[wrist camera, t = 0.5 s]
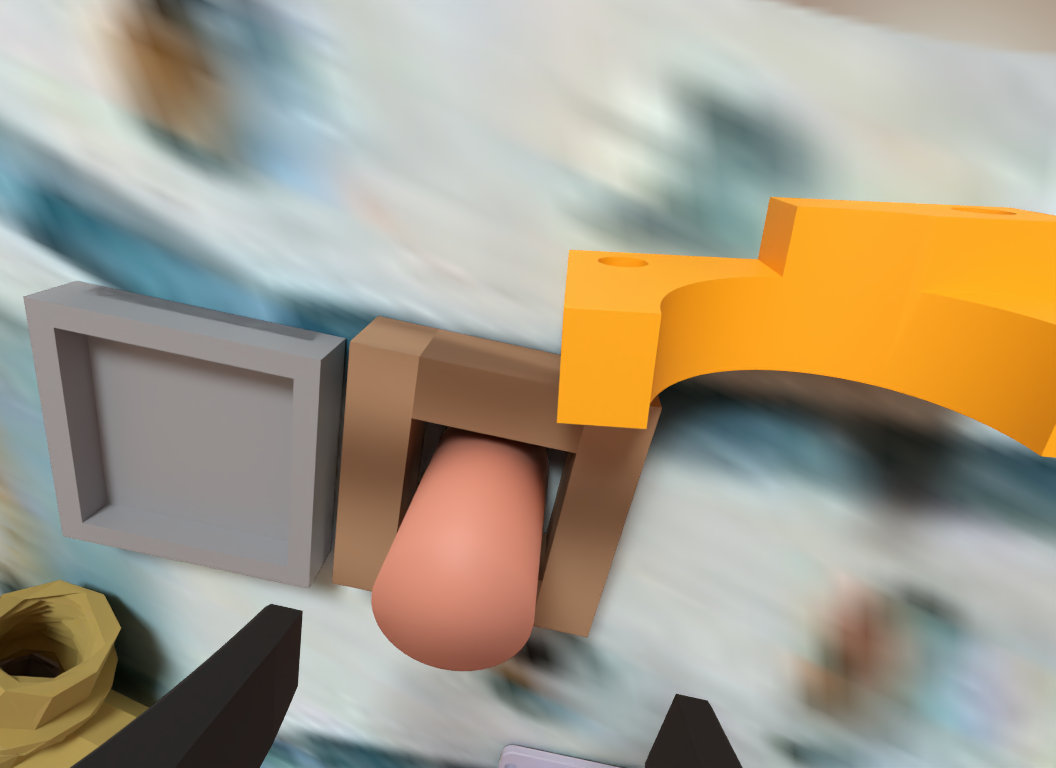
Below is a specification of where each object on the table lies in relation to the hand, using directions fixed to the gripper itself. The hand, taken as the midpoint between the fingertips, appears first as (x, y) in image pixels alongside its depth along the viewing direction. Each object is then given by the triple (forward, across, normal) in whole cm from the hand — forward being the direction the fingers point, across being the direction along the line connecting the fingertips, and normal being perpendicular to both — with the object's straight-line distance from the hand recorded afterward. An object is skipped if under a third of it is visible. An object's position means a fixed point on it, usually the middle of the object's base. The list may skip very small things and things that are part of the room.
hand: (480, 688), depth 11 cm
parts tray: (+10, +11, +2) cm, 15 cm away
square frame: (+10, +1, +1) cm, 10 cm away
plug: (+10, +1, +1) cm, 10 cm away
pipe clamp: (+10, -6, -7) cm, 14 cm away
